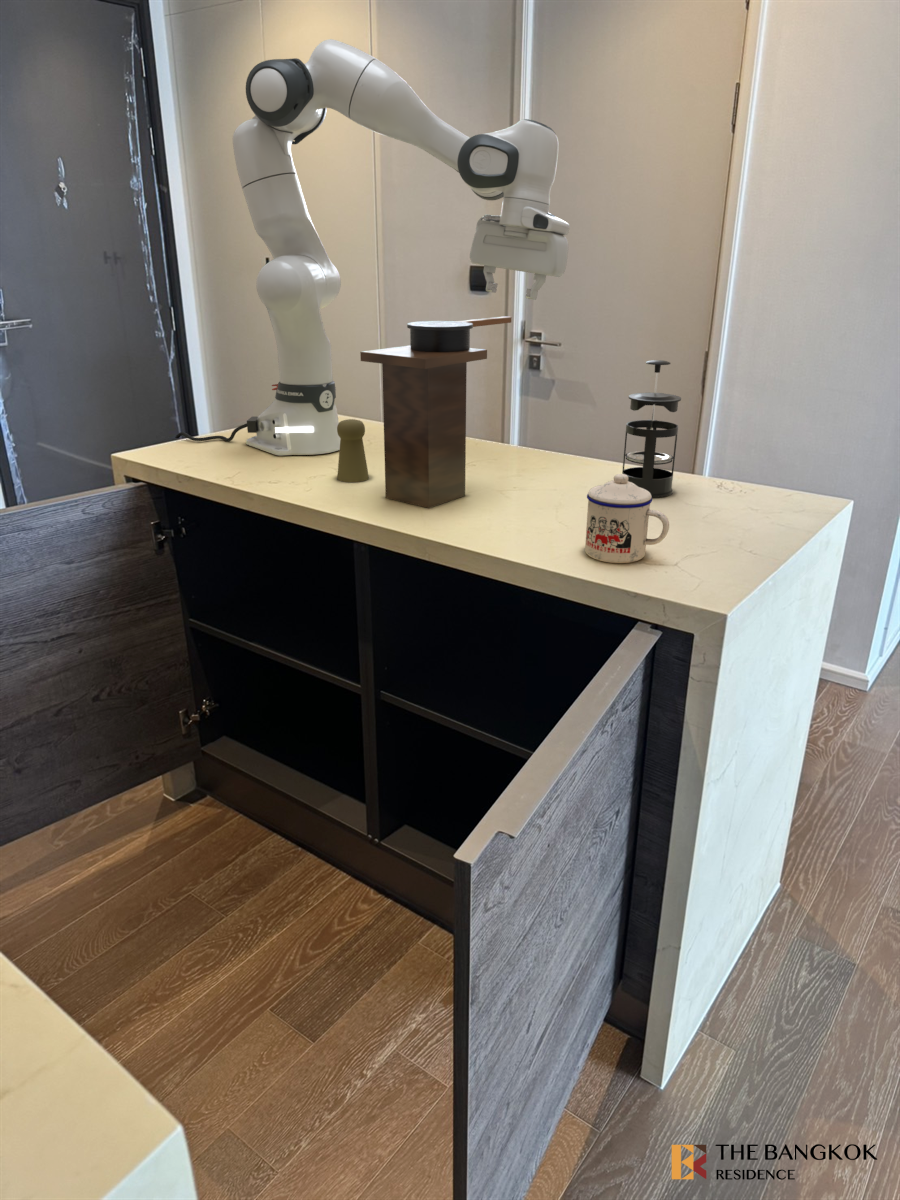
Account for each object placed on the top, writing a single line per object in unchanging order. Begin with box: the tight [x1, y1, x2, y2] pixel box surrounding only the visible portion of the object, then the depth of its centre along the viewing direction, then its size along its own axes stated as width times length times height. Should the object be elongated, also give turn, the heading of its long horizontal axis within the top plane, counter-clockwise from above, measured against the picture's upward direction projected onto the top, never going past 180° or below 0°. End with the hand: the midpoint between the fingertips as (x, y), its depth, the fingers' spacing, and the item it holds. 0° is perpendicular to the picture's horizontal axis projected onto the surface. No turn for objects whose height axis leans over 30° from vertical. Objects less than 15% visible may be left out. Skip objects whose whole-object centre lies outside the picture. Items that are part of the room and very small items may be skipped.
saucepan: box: [406, 315, 513, 352], centre depth 150 cm, size 11×25×4 cm, turn 141°
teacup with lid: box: [584, 473, 670, 564], centre depth 122 cm, size 12×9×12 cm
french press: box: [621, 359, 682, 499], centre depth 152 cm, size 12×9×23 cm
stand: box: [359, 344, 488, 509], centre depth 147 cm, size 14×16×25 cm
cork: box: [336, 418, 370, 483], centre depth 162 cm, size 6×6×11 cm
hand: (510, 295), depth 167 cm, fingers open, 8 cm apart
